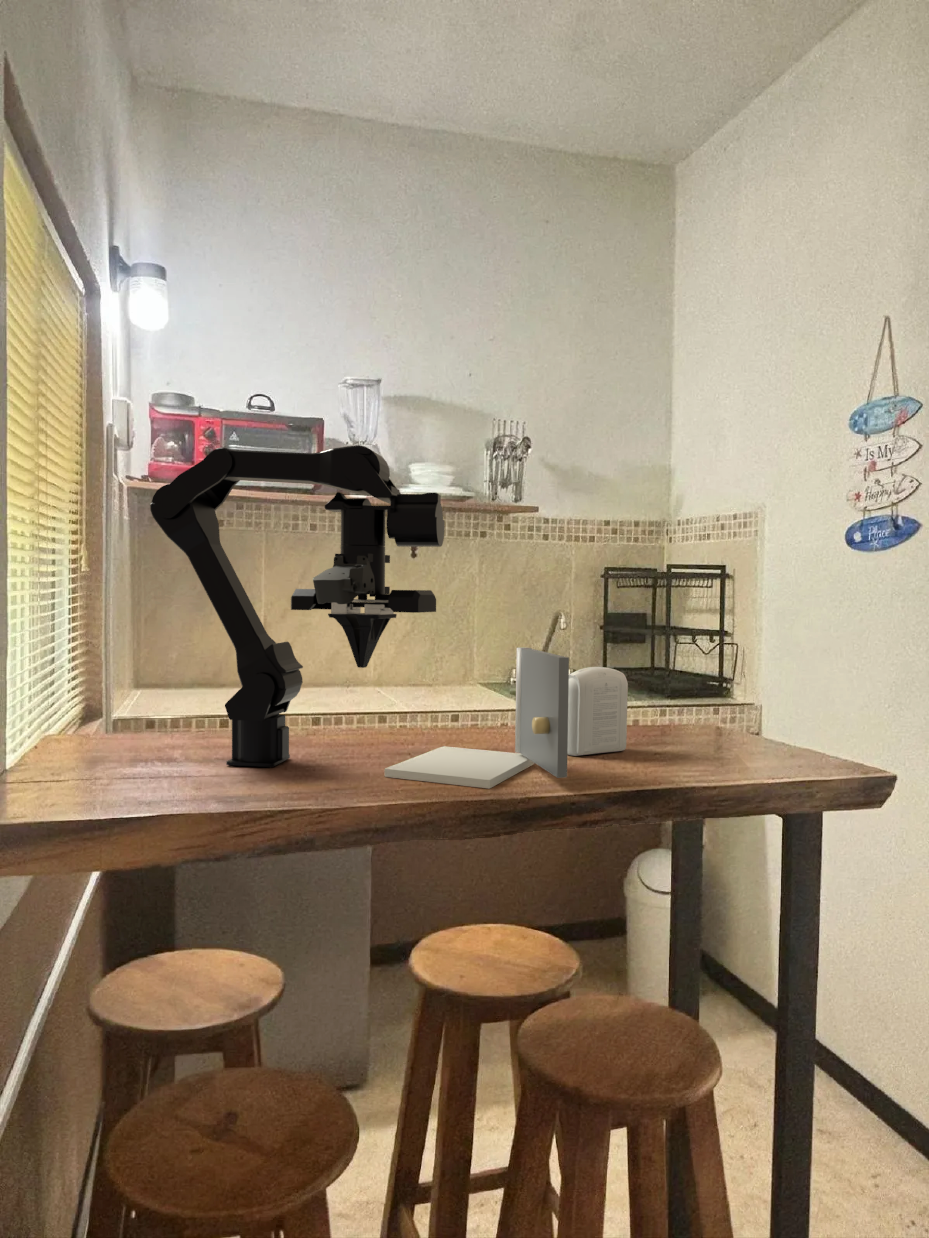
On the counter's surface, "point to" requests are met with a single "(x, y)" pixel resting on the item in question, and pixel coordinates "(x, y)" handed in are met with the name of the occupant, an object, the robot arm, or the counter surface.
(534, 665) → the door
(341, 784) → the counter surface
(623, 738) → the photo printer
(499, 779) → the board
